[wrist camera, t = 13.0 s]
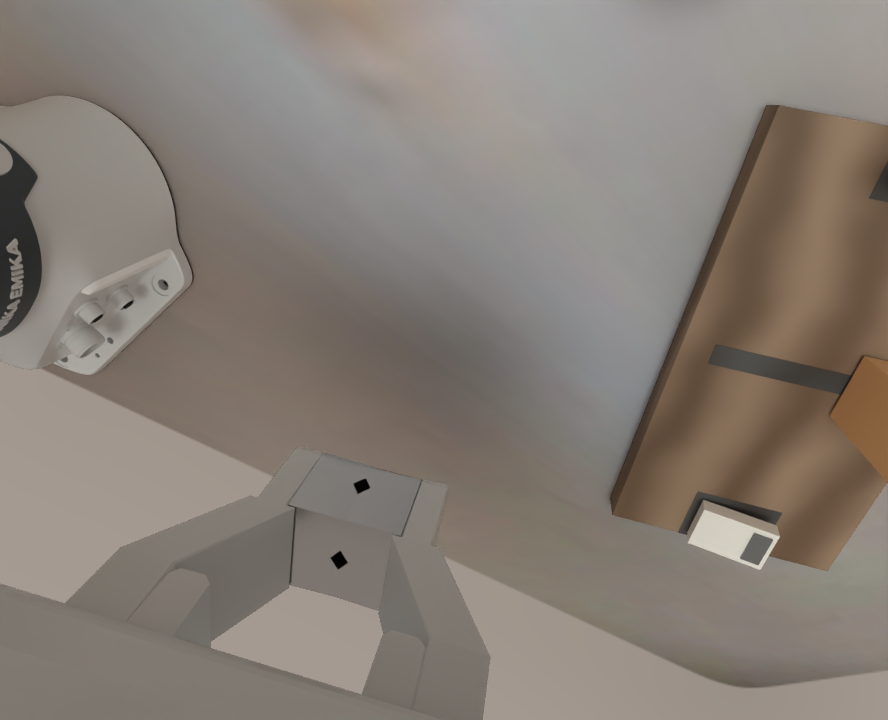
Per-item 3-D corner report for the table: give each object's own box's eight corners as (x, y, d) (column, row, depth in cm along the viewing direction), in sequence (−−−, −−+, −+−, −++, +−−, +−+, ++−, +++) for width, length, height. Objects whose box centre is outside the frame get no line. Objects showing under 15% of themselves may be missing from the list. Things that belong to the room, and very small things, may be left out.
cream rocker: (687, 532, 42) (687, 544, 40) (703, 499, 40) (704, 510, 39) (757, 558, 40) (760, 571, 39) (777, 525, 39) (780, 538, 38)
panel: (610, 498, 44) (612, 515, 42) (766, 105, 31) (779, 105, 30) (816, 551, 43) (827, 571, 41) (1068, 162, 30) (1101, 166, 28)
